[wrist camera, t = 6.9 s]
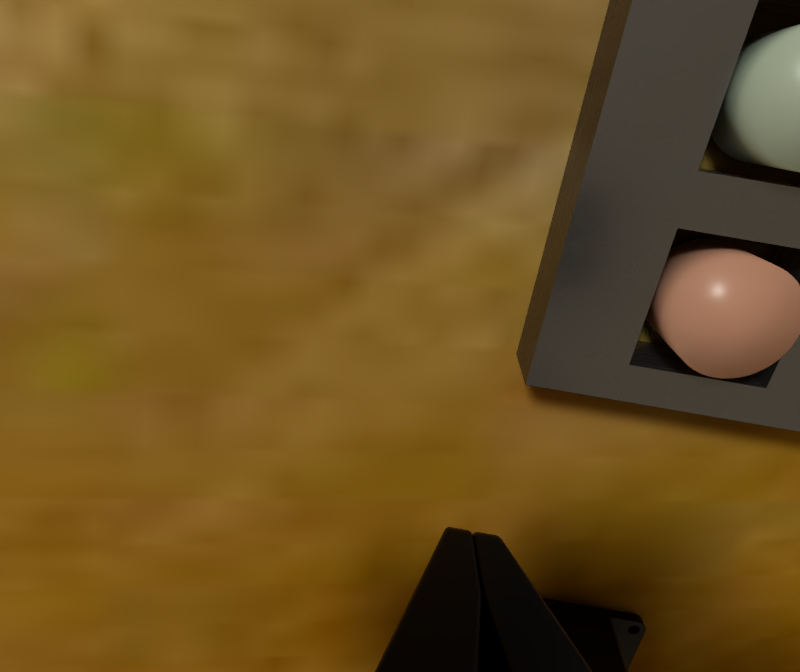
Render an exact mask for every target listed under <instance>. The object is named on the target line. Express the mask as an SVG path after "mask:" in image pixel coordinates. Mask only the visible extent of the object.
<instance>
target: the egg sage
mask: <svg viewBox="0 0 800 672" xmlns="http://www.w3.org/2000/svg"><path fill="white" fill-rule="evenodd" d="M711 136H712V138H713V139H714V141H715V143H716V144H717V145H718V147H719V148H720V149H721V150H722V151H723V152H725V153H726V154H727V155H729V156H730V157H732V158H734V159H737V160H739V161H743V162H747V163H752V164H758V165H763V166H769V167H774V168H779V169H785V170H790V171H795V172H800V24H799V25H795V26H791V27H786V28H782V29H777V30H773V31H770V32H767V33H763V34H761V35H759V36H757V37H755V38H753V39H751V40H750V41H748V42H746V43H745V44H744V45H743V46H742V49H741V51H740V54H739V57H738V60H737V63H736V65H735V68H734V71H733V74H732V77H731V80H730V82H729V85H728V88H727V91H726V94H725V96H724V99H723V102H722V105H721V108H720V110H719V113H718V116H717V119H716V122H715V125H714V127H713V130H712V133H711Z"/></svg>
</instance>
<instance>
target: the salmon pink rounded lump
mask: <svg viewBox="0 0 800 672" xmlns="http://www.w3.org/2000/svg"><path fill="white" fill-rule="evenodd" d="M646 321H647V322H648V324H649V325H650V326H651V327H652V328H653V329H654V330H655V331H656V333H657V334H658V335H659V336H660V337H661V338H662V339H663V340H664V341H665V342H666V343H667V344H668V345H669V346H670V347H671V348H672V349H673V350H674V352H675V353H676V354H677V355H678V356H679V357H680V358H681V359H682V360H683V361H684V362H685V363H686V364H687V365H688V366H689V367H691V368H692V369H693V370H695V371H697V372H699V373H701V374H703V375H706V376H710V377H714V378H739V377H744V376H748V375H751V374H754V373H757V372H759V371H761V370H763V369H765V368H767V367H769V366H770V365H772V364H773V363H775V362H776V361H778V360H779V359H780V358H781V357H782V356H783V355H784V354H786V352H787V351H788V350H789V349H790V348H791V347H792V345H793V344H794V343H795V341H796V340H797V338H798V336H799V334H800V285H799V283H798V282H797V281H796V279H795V278H794V277H793V276H792V275H791V274H789V273H788V272H787V271H785V270H784V269H782V268H780V267H778V266H776V265H774V264H772V263H770V262H768V261H766V260H763V259H761V258H759V257H757V256H755V255H753V254H751V253H749V252H747V251H745V250H743V249H740V248H738V247H736V246H734V245H732V244H730V243H727V242H725V241H721V240H717V239H698V240H693V241H689V242H686V243H683V244H681V245H679V246H677V247H675V248H673V249H671V250H670V251H669V254H668V257H667V259H666V262H665V265H664V268H663V271H662V274H661V276H660V279H659V282H658V285H657V288H656V290H655V293H654V296H653V299H652V302H651V304H650V307H649V310H648V313H647V316H646Z"/></svg>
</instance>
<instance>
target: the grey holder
mask: <svg viewBox="0 0 800 672" xmlns="http://www.w3.org/2000/svg"><path fill="white" fill-rule="evenodd" d="M755 9H760V10H766V11H772V12H778V13H784V14H790V15H796V16H800V0H610V2H609V6H608V9H607V13H606V17H605V21H604V24H603V28H602V32H601V36H600V40H599V43H598V47H597V51H596V55H595V59H594V62H593V66H592V70H591V74H590V78H589V81H588V85H587V89H586V93H585V97H584V100H583V104H582V108H581V112H580V115H579V119H578V123H577V127H576V131H575V134H574V138H573V142H572V146H571V150H570V153H569V157H568V161H567V165H566V169H565V172H564V176H563V180H562V184H561V187H560V191H559V195H558V199H557V203H556V206H555V210H554V214H553V218H552V222H551V225H550V229H549V233H548V237H547V241H546V244H545V248H544V252H543V256H542V260H541V263H540V267H539V271H538V275H537V278H536V282H535V286H534V290H533V294H532V297H531V301H530V305H529V309H528V313H527V316H526V320H525V324H524V328H523V332H522V335H521V339H520V343H519V347H518V351H517V357H518V361H519V364H520V367H521V371H522V374H523V377H524V381H525V384H526V385H531V386H537V387H543V388H548V389H554V390H560V391H566V392H572V393H578V394H583V395H589V396H595V397H601V398H607V399H613V400H618V401H624V402H630V403H636V404H642V405H648V406H653V407H659V408H665V409H671V410H677V411H683V412H688V413H694V414H700V415H706V416H712V417H718V418H723V419H729V420H735V421H741V422H747V423H752V424H758V425H764V426H770V427H776V428H782V429H787V430H793V431H799V432H800V334H799V336H798V338H797V340H796V341H795V343H794V344H793V345H792V347H791V348H790V349H789V350H788V351H787V352H786V354H784V355H783V356H782V357H781V358H780V359H779V360H778V361H776V362H775V363H773V364H772V365H770V366H769V367H767V368H765V369H763V370H761V371H759V372H757V373H754V374H751V375H748V376H744V377H739V378H714V377H710V376H706V375H703V374H701V373H699V372H697V371H695V370H693V369H692V368H691V367H689V366H688V365H687V364H686V363H685V362H684V361H683V360H682V359H681V358H680V357H679V356H678V355H677V354H676V353H675V352H674V350H673V349H672V348H671V347H670V346H665V345H659V344H653V343H648V342H642V341H638V338H639V335H640V333H641V330H642V327H643V324H644V321H645V319H646V316H647V313H648V310H649V307H650V304H651V302H652V299H653V296H654V293H655V290H656V288H657V285H658V282H659V279H660V276H661V274H662V271H663V268H664V265H665V262H666V259H667V257H668V254H669V251H670V248H671V245H672V243H673V240H674V237H675V234H676V231H677V229H678V228H680V229H685V230H691V231H697V232H703V233H709V234H715V235H721V236H727V237H733V238H738V239H744V240H750V241H756V242H762V243H768V244H774V245H778V247H777V249H776V251H775V254H774V256H773V258H772V261H771V263H772V264H774V265H776V266H778V267H780V268H782V269H784V270H785V271H787V272H788V273H789V274H791V275H792V276H793V277H794V278H795V279H796V281H797V282H798V283H799V285H800V185H795V184H789V183H783V182H777V181H772V180H766V179H760V178H754V177H748V176H742V175H736V174H730V173H724V172H718V171H713V170H707V169H701V168H699V167H700V164H701V161H702V158H703V155H704V153H705V150H706V147H707V144H708V141H709V139H710V136H711V133H712V130H713V127H714V125H715V122H716V119H717V116H718V113H719V110H720V108H721V105H722V102H723V99H724V96H725V94H726V91H727V88H728V85H729V82H730V80H731V77H732V74H733V71H734V68H735V65H736V63H737V60H738V57H739V54H740V51H741V49H742V46H743V43H744V40H745V37H746V35H747V32H748V29H749V26H750V23H751V20H752V18H753V15H754V12H755Z"/></svg>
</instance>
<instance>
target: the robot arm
mask: <svg viewBox="0 0 800 672" xmlns="http://www.w3.org/2000/svg"><path fill="white" fill-rule="evenodd" d="M644 633H645V626H644V623H643V621H642V618H641V617H640V616H638V615H635V614H630V613H625V612H619V611H613V610H607V609H601V608H596V607H590V606H584V605H578V604H573V603H567V602H561V601H555V600H550V599H544V598H542V597H541V596H540V594H539V593H538V592H537V590H536V589H535V587H534V586H533V584H532V583H531V581H530V580H529V578H528V577H527V576H526V574H525V573H524V571H523V570H522V568H521V567H520V565H519V564H518V562H517V561H516V559H515V558H514V557H513V555H512V554H511V552H510V551H509V549H508V548H507V546H506V545H505V543H504V542H503V541H502V539H501V538H500V537H499V536H496V535H492V534H486V533H480V532H475V533H473V534H472V533H471V532H470V531H468V530H464V529H458V528H452V527H448V528H446V529H445V530H444V532H443V534H442V536H441V538H440V540H439V543H438V545H437V547H436V549H435V551H434V553H433V555H432V557H431V559H430V561H429V563H428V565H427V567H426V569H425V571H424V573H423V575H422V577H421V579H420V581H419V583H418V585H417V587H416V589H415V591H414V593H413V595H412V597H411V599H410V601H409V603H408V606H407V608H406V610H405V612H404V614H403V616H402V618H401V620H400V622H399V624H398V626H397V628H396V630H395V632H394V634H393V636H392V638H391V640H390V642H389V644H388V646H387V648H386V650H385V652H384V654H383V656H382V658H381V660H380V662H379V664H378V666H377V669H376V671H375V672H628V667H629V665H630V663H631V661H632V659H633V657H634V655H635V652H636V650H637V648H638V646H639V644H640V642H641V640H642V637H643V635H644Z"/></svg>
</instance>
